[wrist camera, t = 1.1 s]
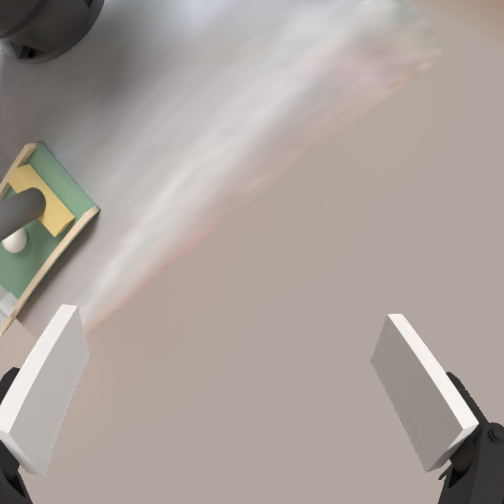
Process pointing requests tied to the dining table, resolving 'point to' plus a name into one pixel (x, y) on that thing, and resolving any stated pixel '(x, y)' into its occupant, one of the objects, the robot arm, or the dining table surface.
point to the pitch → (39, 232)
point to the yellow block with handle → (32, 205)
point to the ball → (15, 241)
